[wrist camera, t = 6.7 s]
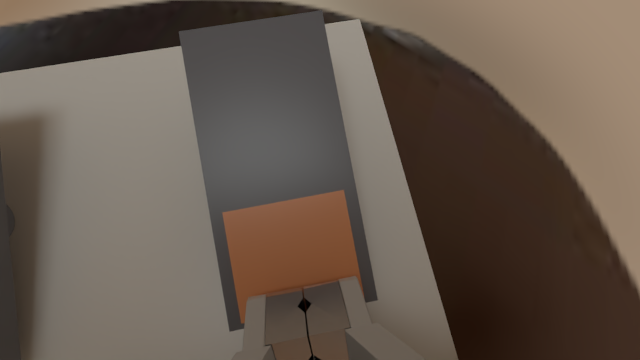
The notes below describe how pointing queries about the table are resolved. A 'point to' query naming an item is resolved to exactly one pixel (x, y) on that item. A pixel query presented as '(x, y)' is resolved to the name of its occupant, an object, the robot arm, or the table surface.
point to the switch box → (172, 211)
